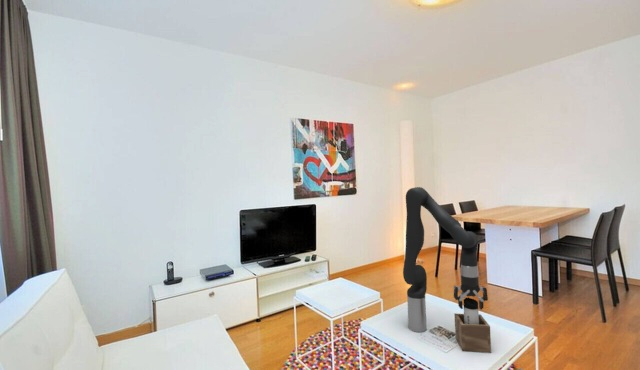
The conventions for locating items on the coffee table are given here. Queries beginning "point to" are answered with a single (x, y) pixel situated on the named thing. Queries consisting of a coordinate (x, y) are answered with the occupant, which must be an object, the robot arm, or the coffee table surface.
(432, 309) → the coffee table surface
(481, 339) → the wooden box
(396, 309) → the coffee table surface
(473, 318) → the travel mug
